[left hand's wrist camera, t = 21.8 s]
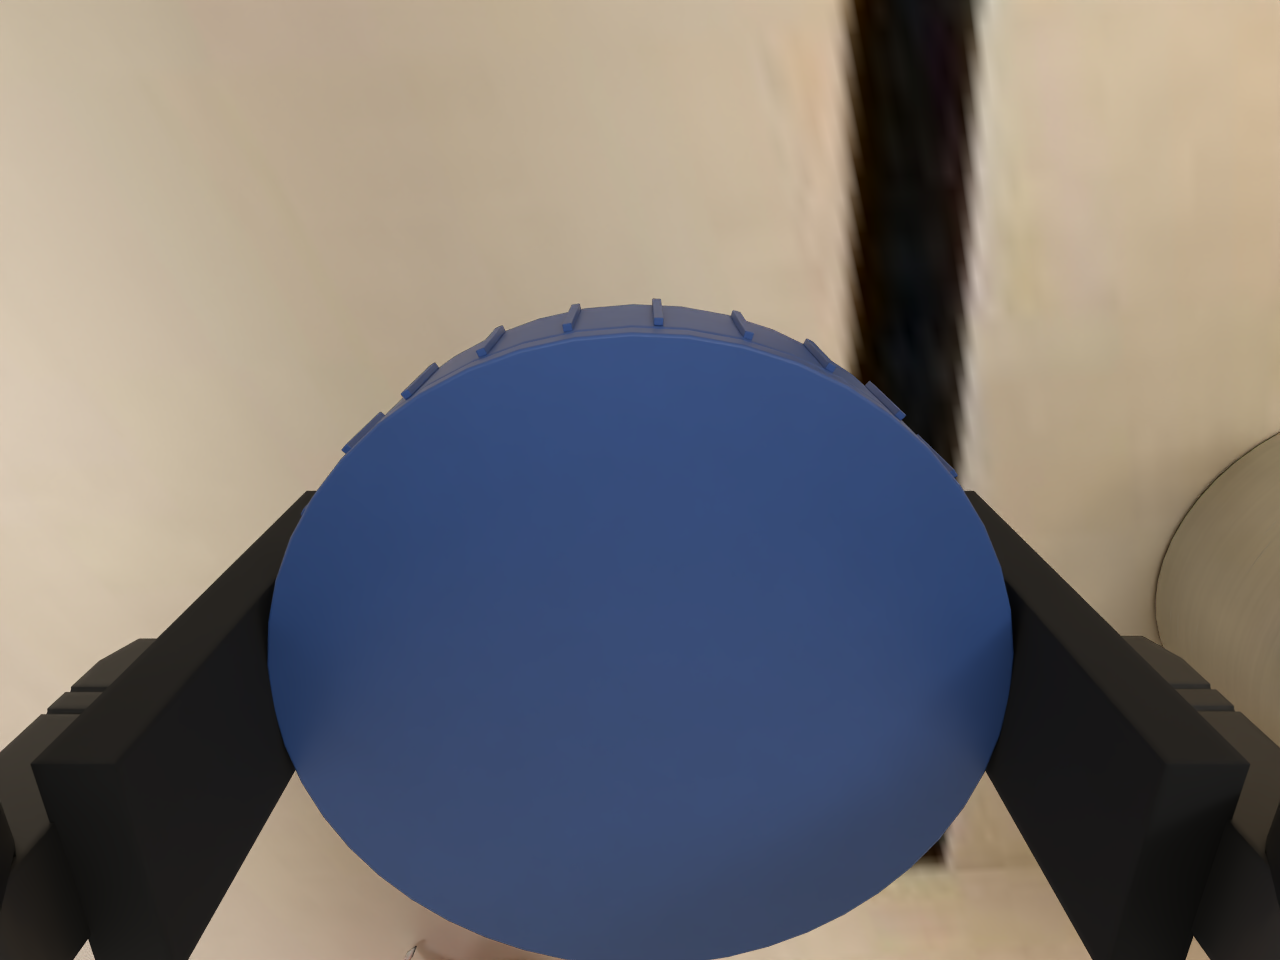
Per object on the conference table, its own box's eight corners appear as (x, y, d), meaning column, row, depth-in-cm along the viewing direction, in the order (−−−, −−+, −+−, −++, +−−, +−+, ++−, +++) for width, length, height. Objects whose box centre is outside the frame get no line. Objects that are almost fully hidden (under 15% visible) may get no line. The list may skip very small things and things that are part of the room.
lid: (1001, 795, 13) (1058, 894, 12) (454, 914, 14) (427, 1024, 13) (905, 205, 10) (963, 214, 8) (202, 412, 11) (116, 460, 9)
